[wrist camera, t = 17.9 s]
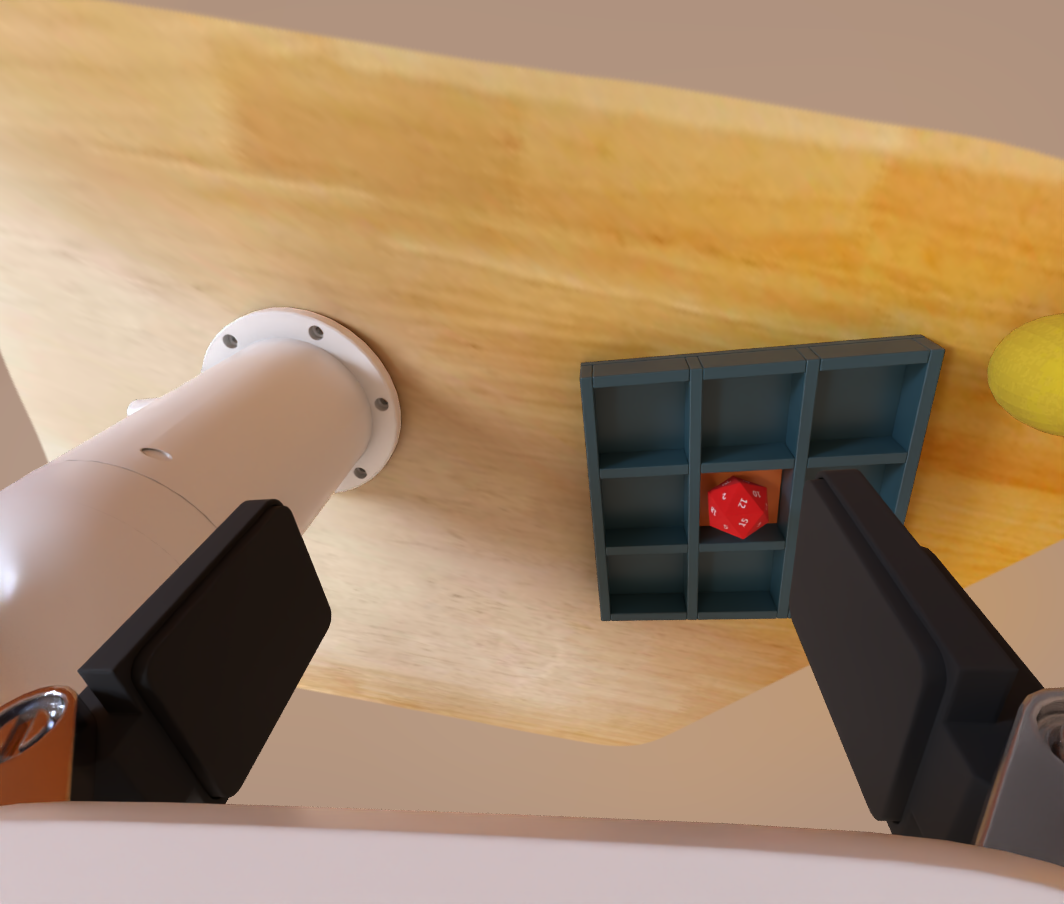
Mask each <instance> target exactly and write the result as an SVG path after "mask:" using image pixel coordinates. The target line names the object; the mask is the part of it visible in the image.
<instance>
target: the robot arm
mask: <svg viewBox="0 0 1064 904" xmlns="http://www.w3.org/2000/svg"><path fill="white" fill-rule="evenodd" d="M319 328H321V329H322V331H323V332H321V331H320V329H319ZM383 399H385V400H386V401H387V402H385V401H384V400H383ZM400 429H401V409H400V404H399V400H398V395H397V392H396V389H395V387H394V384H393V382H392V379H391V377H390V375H389V373H388V372H387V370H386V369H385V367H384V365H383V364H382V362H381V361H380V359H379V358H378V357H377V356H376V354H375V353H374V352H373V351H372V350H371V349H370V348H369V347H368V345H367V344H366V343H365V342H363V341H362V340H361V339H360V338H359V337H357V336H356V335H355V334H354V333H353V332H351V331H350V330H349V329H347V328H345V327H344V326H342V325H340V324H339V323H337V322H335V321H333V320H332V319H330V318H327V317H325V316H322V315H319V314H317V313H314V312H311V311H307V310H302V309H297V308H291V307H271V308H266V309H262V310H257V311H253V312H251V313H249V314H247V315H244V316H242V317H240V318H238V319H236V320H235V321H233V322H231V323H230V324H228V325H227V326H225V327H224V328H223V329H222V330H221V331H220V332H219V333H218V334H217V335H216V336H215V338H214V339H213V340H212V342H211V344H210V346H209V348H208V349H207V351H206V353H205V357H204V361H203V365H202V369H201V374H199V375H197V376H196V377H194V378H192V379H191V380H189V381H187V382H185V383H184V384H182V385H180V386H179V387H177V388H175V389H173V390H172V391H170V392H168V393H167V394H165V395H163V396H162V397H159V398H147V399H136V400H134V401H132V402H131V403H130V405H129V407H128V408H127V417H126V418H124V419H122V420H121V421H119V422H117V423H115V424H114V425H112V426H110V427H109V428H107V429H105V430H103V431H102V432H100V433H98V434H97V435H95V436H93V437H92V438H90V439H88V440H86V441H85V442H83V443H81V444H80V445H78V446H76V447H74V448H73V449H71V450H69V451H68V452H66V453H64V454H62V455H61V456H59V457H57V458H56V459H54V460H52V461H51V462H49V463H47V464H45V465H44V466H42V467H40V468H38V469H36V470H34V471H33V472H31V473H29V474H27V475H26V476H24V477H22V478H21V479H19V480H18V481H16V482H14V483H13V484H11V485H9V486H8V487H6V488H4V489H3V490H1V491H0V904H1064V688H1048V689H1045V688H1044V687H1043V686H1042V685H1041V684H1040V682H1039V681H1038V680H1037V679H1036V677H1035V676H1034V675H1033V674H1032V673H1031V671H1030V670H1029V669H1028V668H1027V666H1026V665H1025V664H1024V663H1023V662H1022V660H1021V659H1020V658H1019V657H1018V655H1017V654H1016V653H1015V652H1014V651H1013V649H1012V648H1011V647H1010V646H1009V644H1008V643H1007V642H1006V641H1005V640H1004V638H1003V637H1002V636H1001V635H1000V633H999V632H998V631H997V630H996V629H995V627H994V626H993V625H992V624H991V623H990V621H989V620H988V619H987V618H986V616H985V615H984V614H983V613H982V611H981V610H980V609H979V608H978V607H977V605H976V604H975V603H974V602H973V601H972V599H971V598H970V597H969V596H968V594H967V593H966V592H965V591H964V590H963V588H962V587H961V586H960V585H959V583H958V582H957V581H956V580H955V579H954V577H953V576H952V575H951V574H950V572H949V571H948V570H947V569H946V568H945V566H944V565H943V564H942V563H941V561H940V560H939V559H938V558H937V557H936V555H935V554H933V553H932V552H931V551H930V550H929V549H928V548H925V547H922V546H920V545H919V544H918V543H917V541H916V540H915V539H914V538H913V536H912V535H911V534H910V533H909V531H908V530H907V529H906V528H905V526H904V525H903V524H902V523H901V521H900V520H899V519H898V518H897V516H896V515H895V514H894V513H893V511H892V510H891V509H890V508H889V506H888V505H887V504H886V503H885V501H884V500H883V499H882V498H881V496H880V495H879V494H878V493H877V491H876V490H875V489H874V488H873V486H872V485H871V484H870V483H869V481H868V480H867V479H866V478H865V476H864V475H863V474H862V473H861V472H860V471H859V470H858V469H844V470H825V471H819V472H818V473H817V475H816V477H815V480H807V481H806V482H805V484H804V488H803V495H802V503H801V511H800V519H799V527H798V535H797V543H796V550H795V558H794V566H793V574H792V582H791V590H790V597H789V608H790V614H791V619H792V622H793V624H794V627H795V629H796V632H797V634H798V636H799V639H800V641H801V644H802V646H803V649H804V651H805V654H806V656H807V659H808V661H809V663H810V666H811V668H812V671H813V673H814V676H815V678H816V681H817V683H818V686H819V688H820V690H821V693H822V695H823V698H824V700H825V703H826V705H827V708H828V710H829V712H830V715H831V717H832V720H833V722H834V725H835V727H836V730H837V732H838V734H839V737H840V739H841V742H842V744H843V747H844V749H845V752H846V754H847V757H848V759H849V761H850V764H851V766H852V769H853V771H854V774H855V776H856V779H857V781H858V783H859V786H860V788H861V791H862V793H863V796H864V798H865V800H866V803H867V805H868V808H869V809H870V812H871V814H872V815H873V816H874V818H875V819H876V820H878V821H887V823H888V826H889V828H890V830H891V832H892V834H882V833H873V832H860V831H843V830H827V829H810V828H794V827H777V826H776V827H775V826H761V825H744V824H725V823H703V822H702V823H701V822H679V821H657V820H656V821H655V820H632V819H610V818H587V817H564V816H541V815H516V814H489V813H464V812H437V811H410V810H382V809H355V808H329V807H328V808H327V807H298V806H265V805H234V804H226V802H227V800H228V798H229V797H232V796H234V795H235V794H236V793H237V792H238V791H239V789H240V788H241V786H242V785H243V783H244V781H245V779H246V777H247V775H248V774H249V772H250V770H251V768H252V766H253V765H254V763H255V761H256V759H257V757H258V755H259V754H260V752H261V750H262V748H263V746H264V745H265V743H266V741H267V739H268V737H269V735H270V734H271V732H272V730H273V728H274V726H275V725H276V723H277V721H278V719H279V717H280V715H281V714H282V712H283V710H284V708H285V706H286V705H287V703H288V701H289V699H290V697H291V695H292V694H293V692H294V690H295V688H296V686H297V685H298V683H299V681H300V679H301V677H302V676H303V674H304V672H305V670H306V668H307V666H308V665H309V663H310V661H311V659H312V657H313V656H314V654H315V652H316V650H317V648H318V647H319V645H320V643H321V641H322V639H323V637H324V636H325V634H326V632H327V630H328V628H329V626H330V622H331V609H330V606H329V604H328V601H327V599H326V596H325V594H324V591H323V588H322V586H321V583H320V581H319V578H318V576H317V573H316V571H315V568H314V566H313V563H312V561H311V558H310V556H309V553H308V551H307V548H306V546H305V543H304V541H303V538H302V535H303V534H304V532H305V531H306V530H307V528H308V527H309V526H310V524H311V523H312V521H313V520H314V519H315V517H316V516H317V515H318V513H319V512H320V511H321V509H322V508H323V507H324V505H325V504H326V503H327V501H328V500H329V499H330V497H331V496H332V495H333V493H339V492H345V491H348V490H351V489H354V488H357V487H360V486H361V485H363V484H365V483H366V482H368V481H369V480H371V479H373V478H374V477H375V476H376V475H377V474H378V473H379V472H380V471H381V470H382V469H383V468H384V466H385V465H386V463H387V462H388V460H389V459H390V457H391V456H392V454H393V451H394V449H395V447H396V445H397V443H398V439H399V434H400Z"/></svg>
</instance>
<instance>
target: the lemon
mask: <svg viewBox="0 0 1064 904" xmlns="http://www.w3.org/2000/svg"><path fill="white" fill-rule="evenodd" d="M987 374H988V384H989V387H990V390H991V392H992V394H993V396H994V398H995V400H996V401H997V402H998V403H999V404H1000V405H1001V406H1002V407H1003V408H1004V409H1005V410H1006V411H1007V412H1008V413H1009V414H1010V415H1011V416H1013V417H1014V418H1015V419H1017V420H1019V421H1020V422H1022V423H1024V424H1027V425H1029V426H1031V427H1033V428H1035V429H1037V430H1040V431H1042V432H1045V433H1049V434H1053V435H1057V436H1063V437H1064V313H1062V314H1056V315H1050V316H1044V317H1041V318H1038V319H1036V320H1033V321H1030V322H1027V323H1025V324H1024V325H1022V326H1020V327H1019V328H1017V329H1015V330H1014V331H1012V332H1011V333H1010V334H1009V335H1007V336H1006V337H1005V338H1004V339H1003V340H1002V341H1001V342H1000V343H999V345H998V346H997V347H996V348H995V350H994V352H993V354H992V356H991V358H990V361H989V365H988V369H987Z"/></svg>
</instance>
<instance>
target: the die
mask: <svg viewBox="0 0 1064 904" xmlns="http://www.w3.org/2000/svg"><path fill="white" fill-rule="evenodd" d="M707 494H708V509H709V523H710V526H712V527H714V528H717V529H719V530H722V531H724V532H726V533H729V534H731V535H734V536H736V537H739V538H741V539H745V538H746V537H748V536H749V535H751V534H752V533H753V532H755V531H756V530H758V529H759V528H761V527H762V526H764V525H765V524H767V523H768V522H769V516H768V498H767V488H766V487H764V486H761V485H758V484H755V483H753V482H750V481H747V480H744V479H741V478H738V477H735V476H731V477H730V478H728V479H727V480H725V481H724V482H722V483H720V484H719V485H717V486H716V487H714V488H712V489H711V490H709V491H708V492H707Z"/></svg>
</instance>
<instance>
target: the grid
mask: <svg viewBox="0 0 1064 904" xmlns="http://www.w3.org/2000/svg"><path fill="white" fill-rule="evenodd" d="M944 353H945V349H944V348H942V347H940V346H939V345H937V344H935V343H934V342H932V341H930V340H929V339H927V338H925V337H924V336H922V335H909V336H897V337H885V338H873V339H861V340H849V341H837V342H825V343H813V344H801V345H789V346H777V347H765V348H753V349H741V350H729V351H717V352H705V353H693V354H681V355H669V356H657V357H645V358H633V359H621V360H609V361H597V362H585V363H581V369H580V387H581V398H582V410H583V421H584V432H585V443H586V455H587V466H588V477H589V488H590V500H591V511H592V522H593V533H594V545H595V556H596V567H597V578H598V590H599V601H600V612H601V620H602V621H611V620H612V621H634V620H686V619H688V620H696V619H698V620H707V619H776V618H787V617H788V618H791V614H790V608H789V597H790V590H791V582H792V574H793V566H794V558H795V550H796V543H797V535H798V527H799V519H800V511H801V503H802V495H803V488H804V484H805V482H806V481H807V480H815V477H816V475H817V473H818V472H819V471H825V470H844V469H858V470H859V471H860V472H861V473H862V474H863V475H864V476H865V478H866V479H867V480H868V481H869V483H870V484H871V485H872V486H873V488H874V489H875V490H876V491H877V493H878V494H879V495H880V496H881V498H882V499H883V500H884V501H885V503H886V504H887V505H888V506H889V508H890V509H891V510H892V511H893V513H894V514H895V515H896V516H897V518H898V519H899V520H900V521H901V523H902V524H903V525H904V522H905V517H906V513H907V509H908V505H909V501H910V496H911V492H912V488H913V484H914V480H915V475H916V471H917V467H918V463H919V459H920V454H921V450H922V446H923V442H924V437H925V433H926V429H927V425H928V421H929V416H930V412H931V408H932V404H933V400H934V395H935V391H936V387H937V383H938V379H939V374H940V370H941V366H942V362H943V357H944ZM731 476H735V477H738V478H741V479H744V480H747V481H750V482H753V483H755V484H758V485H761V486H764V487H766V488H767V498H768V516H769V522H768V523H767V524H765V525H764V526H762V527H761V528H759V529H758V530H756V531H755V532H753V533H752V534H751V535H749V536H748V537H746V538H745V539H741V538H739V537H736V536H734V535H731V534H729V533H726V532H724V531H722V530H719V529H717V528H714V527H712V526H710V523H709V509H708V494H707V492H708V491H709V490H711V489H712V488H714V487H716V486H717V485H719V484H720V483H722V482H724V481H725V480H727V479H728V478H730V477H731Z"/></svg>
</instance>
